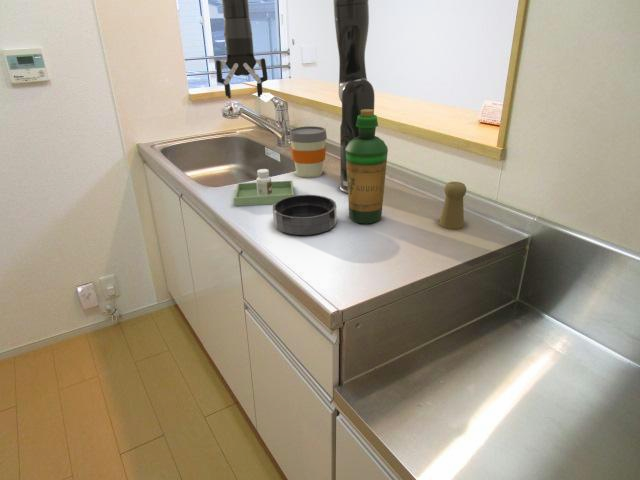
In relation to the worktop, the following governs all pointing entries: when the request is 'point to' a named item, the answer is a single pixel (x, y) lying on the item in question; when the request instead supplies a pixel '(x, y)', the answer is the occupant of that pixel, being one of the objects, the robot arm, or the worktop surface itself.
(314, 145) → the reusable coffee cup
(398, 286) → the worktop surface
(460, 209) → the cork
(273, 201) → the tray
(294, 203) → the pan
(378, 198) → the bottle
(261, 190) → the pill bottle
